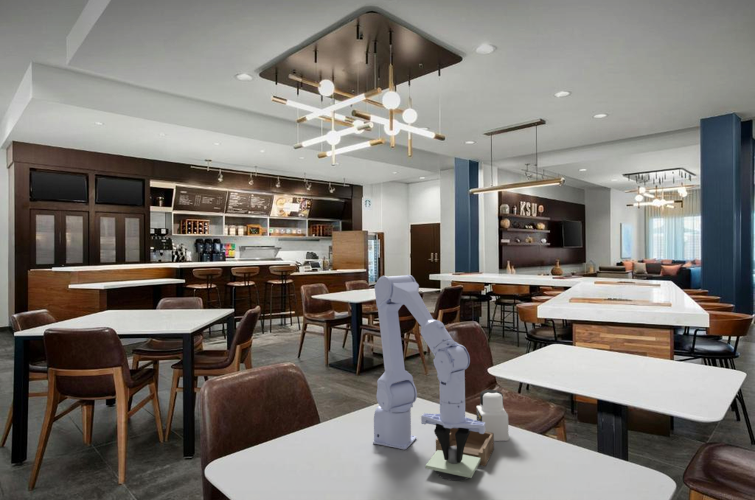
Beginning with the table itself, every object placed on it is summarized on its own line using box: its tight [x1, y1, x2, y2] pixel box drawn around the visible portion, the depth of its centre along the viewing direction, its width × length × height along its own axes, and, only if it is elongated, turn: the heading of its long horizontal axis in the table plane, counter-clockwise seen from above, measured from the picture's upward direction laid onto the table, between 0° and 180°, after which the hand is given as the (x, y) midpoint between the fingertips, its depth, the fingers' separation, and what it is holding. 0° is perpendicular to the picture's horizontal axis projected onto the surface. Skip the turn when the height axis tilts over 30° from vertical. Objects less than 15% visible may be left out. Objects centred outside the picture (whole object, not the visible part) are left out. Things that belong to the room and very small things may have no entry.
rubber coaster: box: [435, 470, 469, 482], centre depth 101 cm, size 8×8×1 cm
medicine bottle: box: [476, 389, 510, 442], centre depth 120 cm, size 7×7×12 cm
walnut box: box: [435, 428, 495, 467], centre depth 110 cm, size 10×12×4 cm
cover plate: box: [424, 446, 481, 479], centre depth 101 cm, size 9×10×4 cm
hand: (453, 459), depth 101 cm, fingers closed on cover plate, 2 cm apart
